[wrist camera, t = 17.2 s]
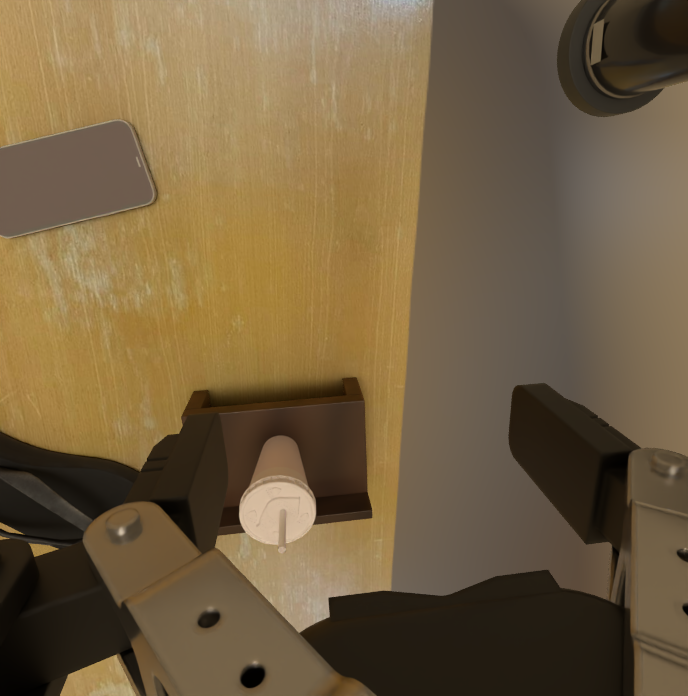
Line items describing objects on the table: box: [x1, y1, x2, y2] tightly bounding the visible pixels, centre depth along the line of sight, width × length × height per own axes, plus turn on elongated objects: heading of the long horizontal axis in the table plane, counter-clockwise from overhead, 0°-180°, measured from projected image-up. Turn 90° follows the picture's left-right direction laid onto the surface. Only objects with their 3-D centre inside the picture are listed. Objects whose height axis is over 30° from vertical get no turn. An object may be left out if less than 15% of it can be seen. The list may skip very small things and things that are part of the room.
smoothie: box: [239, 436, 316, 553], centre depth 40 cm, size 6×6×14 cm
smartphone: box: [0, 119, 157, 238], centre depth 41 cm, size 7×1×15 cm
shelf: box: [181, 378, 372, 536], centre depth 48 cm, size 18×12×9 cm, turn 93°
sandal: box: [0, 433, 139, 549], centre depth 48 cm, size 13×31×7 cm, turn 64°
